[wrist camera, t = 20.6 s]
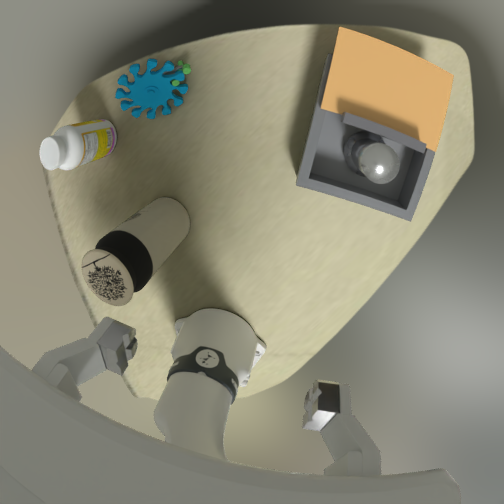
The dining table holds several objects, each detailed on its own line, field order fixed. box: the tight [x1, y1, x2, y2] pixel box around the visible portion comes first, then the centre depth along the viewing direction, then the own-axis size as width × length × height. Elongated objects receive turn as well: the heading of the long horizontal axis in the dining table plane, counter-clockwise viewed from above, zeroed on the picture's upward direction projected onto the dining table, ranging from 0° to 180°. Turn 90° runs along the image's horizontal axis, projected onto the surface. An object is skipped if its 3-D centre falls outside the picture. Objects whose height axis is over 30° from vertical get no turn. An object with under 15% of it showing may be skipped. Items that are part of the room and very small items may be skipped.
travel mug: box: [82, 197, 190, 306], centre depth 36 cm, size 8×8×18 cm
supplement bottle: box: [40, 119, 117, 170], centre depth 33 cm, size 7×7×13 cm
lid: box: [320, 27, 454, 154], centre depth 24 cm, size 12×15×3 cm
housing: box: [296, 54, 435, 222], centre depth 31 cm, size 17×16×5 cm
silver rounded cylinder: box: [343, 131, 400, 184], centre depth 30 cm, size 6×6×8 cm
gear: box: [115, 59, 191, 119], centre depth 32 cm, size 11×6×10 cm
